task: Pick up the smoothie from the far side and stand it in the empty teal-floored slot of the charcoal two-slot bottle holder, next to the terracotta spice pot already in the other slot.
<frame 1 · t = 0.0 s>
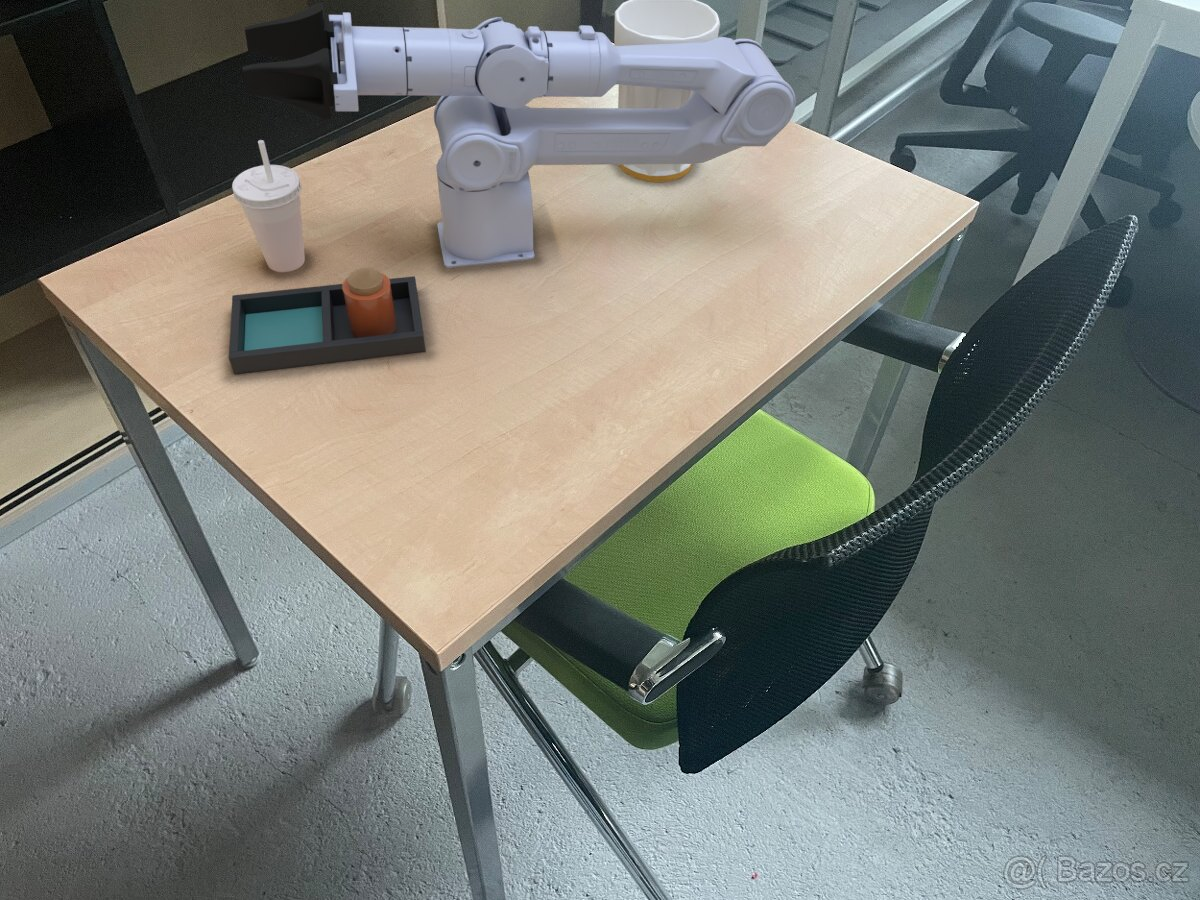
hand: (245, 59, 83), 22 cm above the table, tool horizontal, fingers open, 7 cm apart
holder: (330, 334, 92), on the table
cup: (654, 163, 115), on the table
spice pot: (373, 326, 92), resting on holder
smoothie: (287, 265, 99), on the table
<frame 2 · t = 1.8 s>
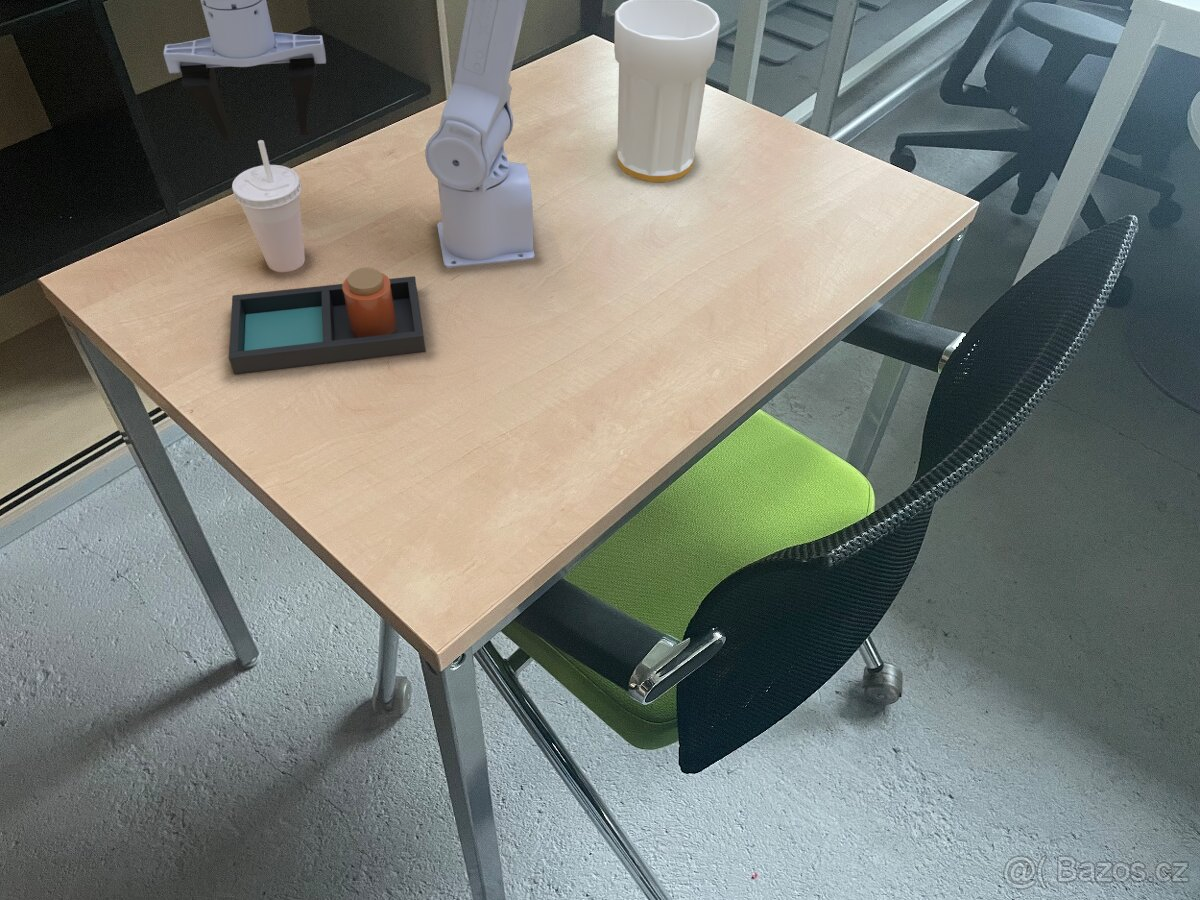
hand: (265, 133, 97), 10 cm above the table, tool pointing down, fingers open, 7 cm apart
nothing on the table moved.
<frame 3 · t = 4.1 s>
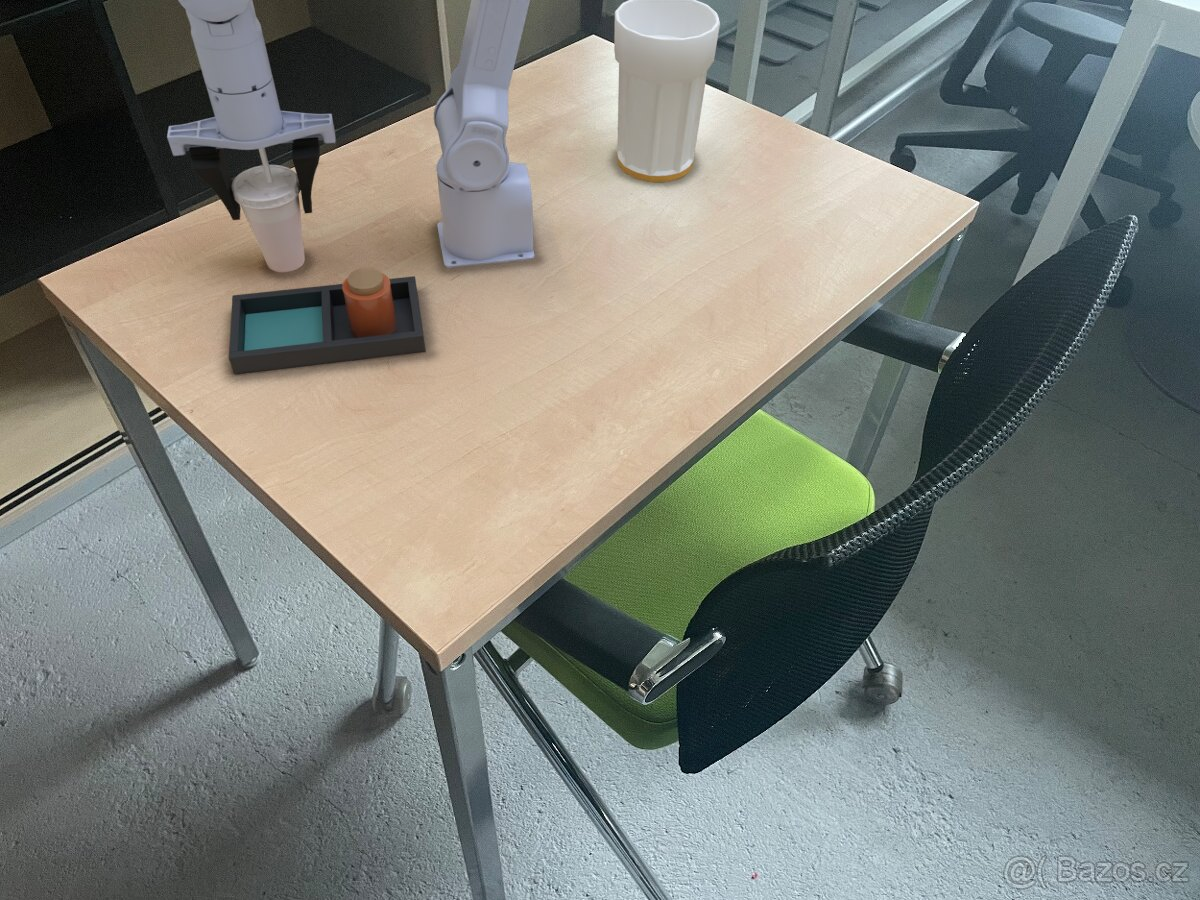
hand: (273, 210, 94), 6 cm above the table, tool pointing down, fingers closed on smoothie, 6 cm apart
smoothie: (287, 265, 99), on the table, touching gripper
everything else where it was.
when the fingers open (7 cm above the table, at t = 8.3 s): smoothie stays where it is, resting on holder.
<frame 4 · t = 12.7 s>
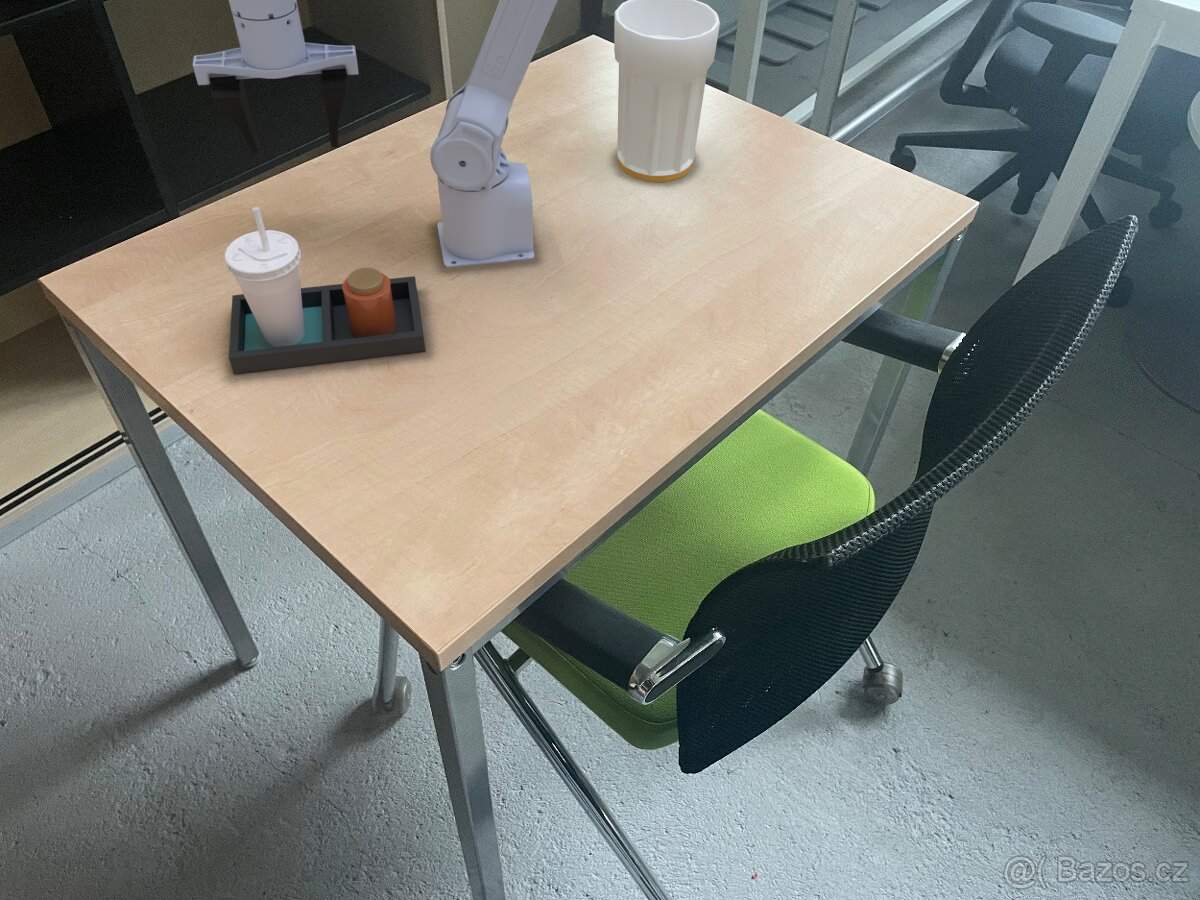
hand: (295, 145, 95), 10 cm above the table, tool pointing down, fingers open, 7 cm apart
smoothie: (285, 336, 91), resting on holder
everything else where it was.
at the end: smoothie 0.0 cm from the target spot in the holder, point 0.4 cm above the holder's base; smoothie tilted 0°; the gripper is holding nothing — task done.
